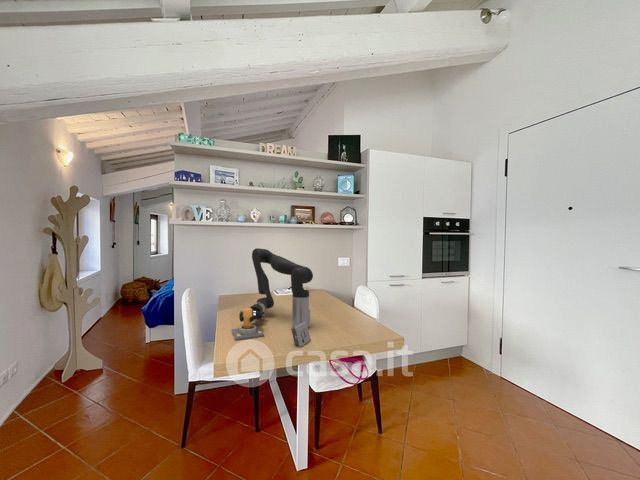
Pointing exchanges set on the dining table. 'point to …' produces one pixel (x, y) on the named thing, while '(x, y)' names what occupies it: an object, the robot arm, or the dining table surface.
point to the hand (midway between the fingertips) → (245, 319)
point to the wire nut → (247, 318)
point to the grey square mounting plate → (247, 333)
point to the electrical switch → (301, 334)
